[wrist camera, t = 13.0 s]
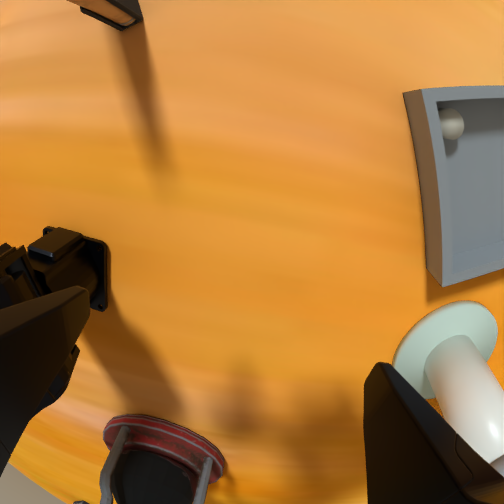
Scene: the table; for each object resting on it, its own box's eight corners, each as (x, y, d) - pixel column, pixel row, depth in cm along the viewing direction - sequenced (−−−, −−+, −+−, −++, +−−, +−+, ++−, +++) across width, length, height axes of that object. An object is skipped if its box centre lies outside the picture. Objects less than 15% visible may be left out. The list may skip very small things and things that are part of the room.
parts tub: (426, 267, 21) (442, 287, 18) (402, 92, 16) (421, 89, 14) (538, 234, 19) (558, 247, 16) (529, 87, 14) (552, 88, 11)
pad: (455, 393, 26) (458, 400, 25) (372, 388, 26) (374, 395, 25) (510, 310, 22) (515, 315, 21) (427, 289, 22) (432, 296, 21)
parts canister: (438, 386, 24) (482, 506, 12) (412, 363, 23) (461, 503, 11) (481, 351, 22) (543, 465, 10) (460, 323, 21) (536, 454, 9)
